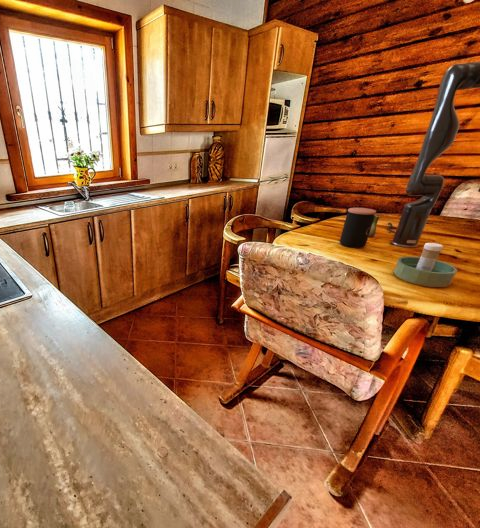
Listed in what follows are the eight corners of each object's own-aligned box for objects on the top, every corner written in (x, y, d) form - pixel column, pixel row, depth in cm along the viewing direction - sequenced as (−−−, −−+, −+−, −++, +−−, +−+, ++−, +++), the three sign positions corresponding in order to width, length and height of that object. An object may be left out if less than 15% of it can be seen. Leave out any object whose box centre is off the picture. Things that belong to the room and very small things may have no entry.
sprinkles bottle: (430, 277, 105) (445, 244, 100) (426, 281, 103) (441, 247, 98) (414, 273, 109) (427, 241, 103) (410, 276, 107) (423, 244, 101)
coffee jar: (366, 250, 134) (378, 213, 126) (339, 246, 139) (349, 211, 132) (363, 243, 142) (374, 208, 135) (338, 240, 147) (347, 207, 140)
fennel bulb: (361, 234, 154) (367, 213, 149) (372, 235, 152) (379, 213, 147) (364, 237, 149) (370, 215, 144) (375, 238, 147) (382, 216, 142)
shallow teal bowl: (387, 267, 116) (392, 254, 113) (439, 273, 109) (445, 259, 107) (400, 284, 103) (405, 269, 101) (458, 291, 96) (466, 276, 94)
